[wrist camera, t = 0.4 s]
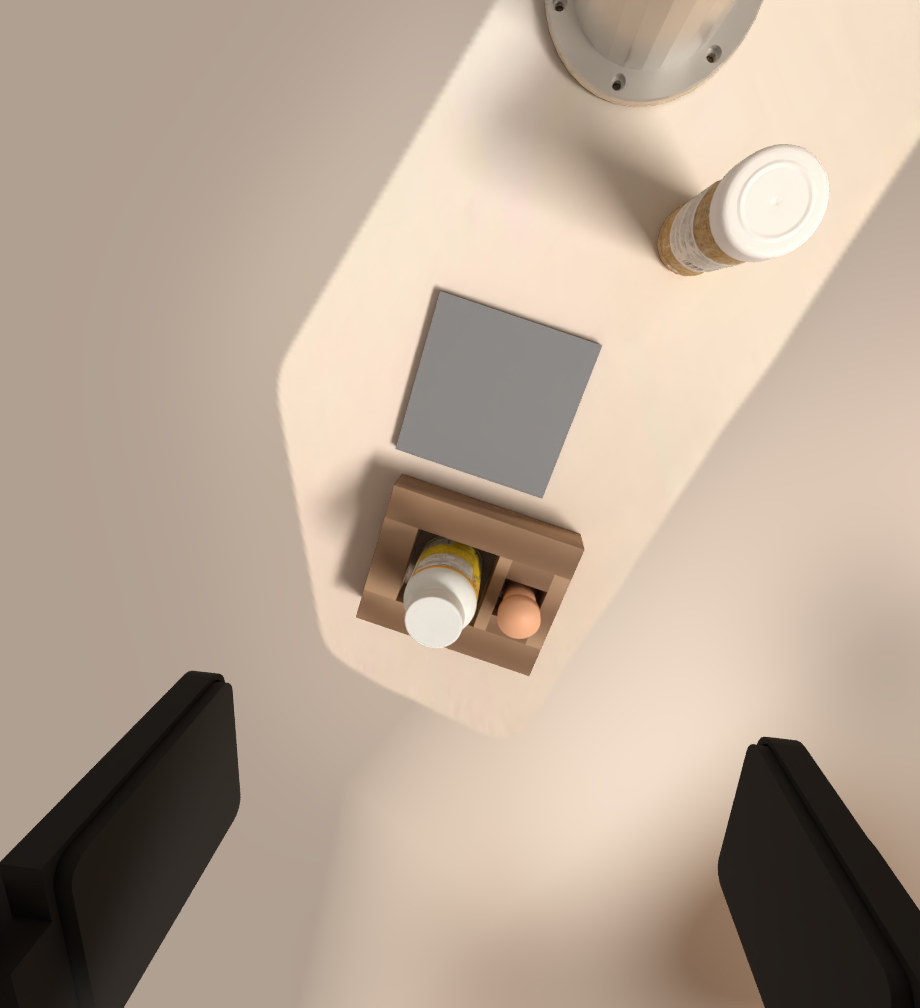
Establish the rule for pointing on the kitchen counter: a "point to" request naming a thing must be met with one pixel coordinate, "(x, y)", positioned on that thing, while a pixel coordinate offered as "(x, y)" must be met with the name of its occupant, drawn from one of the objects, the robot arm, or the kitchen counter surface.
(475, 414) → the pad
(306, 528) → the kitchen counter surface
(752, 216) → the sprinkles bottle
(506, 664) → the housing
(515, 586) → the peach rounded piece
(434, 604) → the supplement bottle
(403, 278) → the kitchen counter surface
